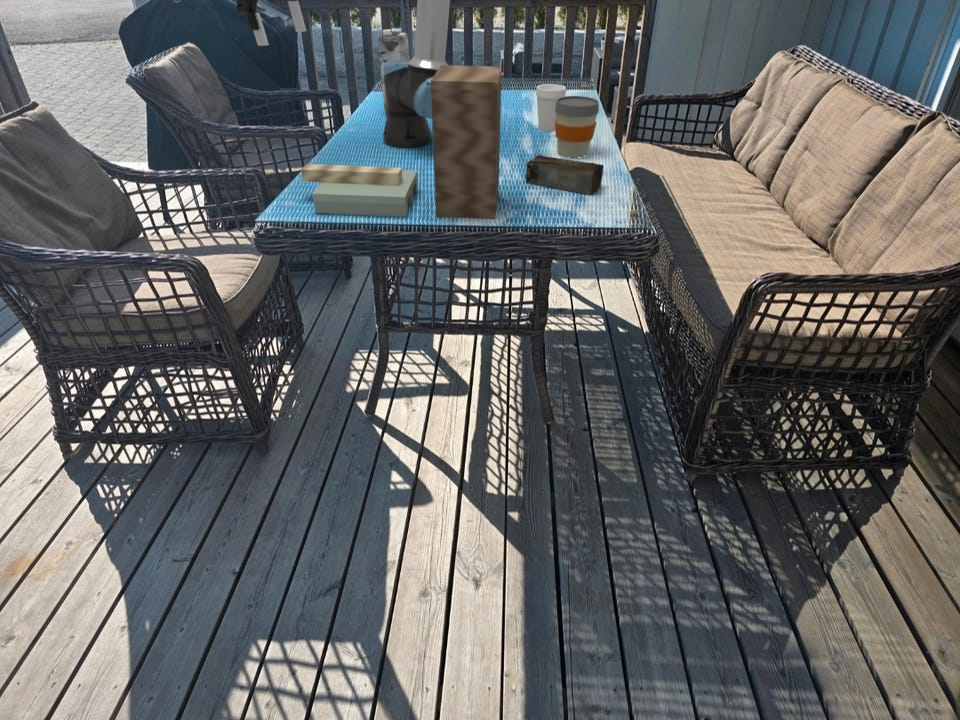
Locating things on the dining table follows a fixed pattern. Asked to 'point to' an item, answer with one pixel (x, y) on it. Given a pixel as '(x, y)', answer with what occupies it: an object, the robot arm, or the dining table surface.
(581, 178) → the beverage carton
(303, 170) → the pine slat
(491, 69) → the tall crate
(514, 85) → the dining table surface
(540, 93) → the foam cup
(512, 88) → the dining table surface
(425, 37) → the robot arm
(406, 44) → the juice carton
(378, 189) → the grey-green flat box
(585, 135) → the reusable coffee cup
